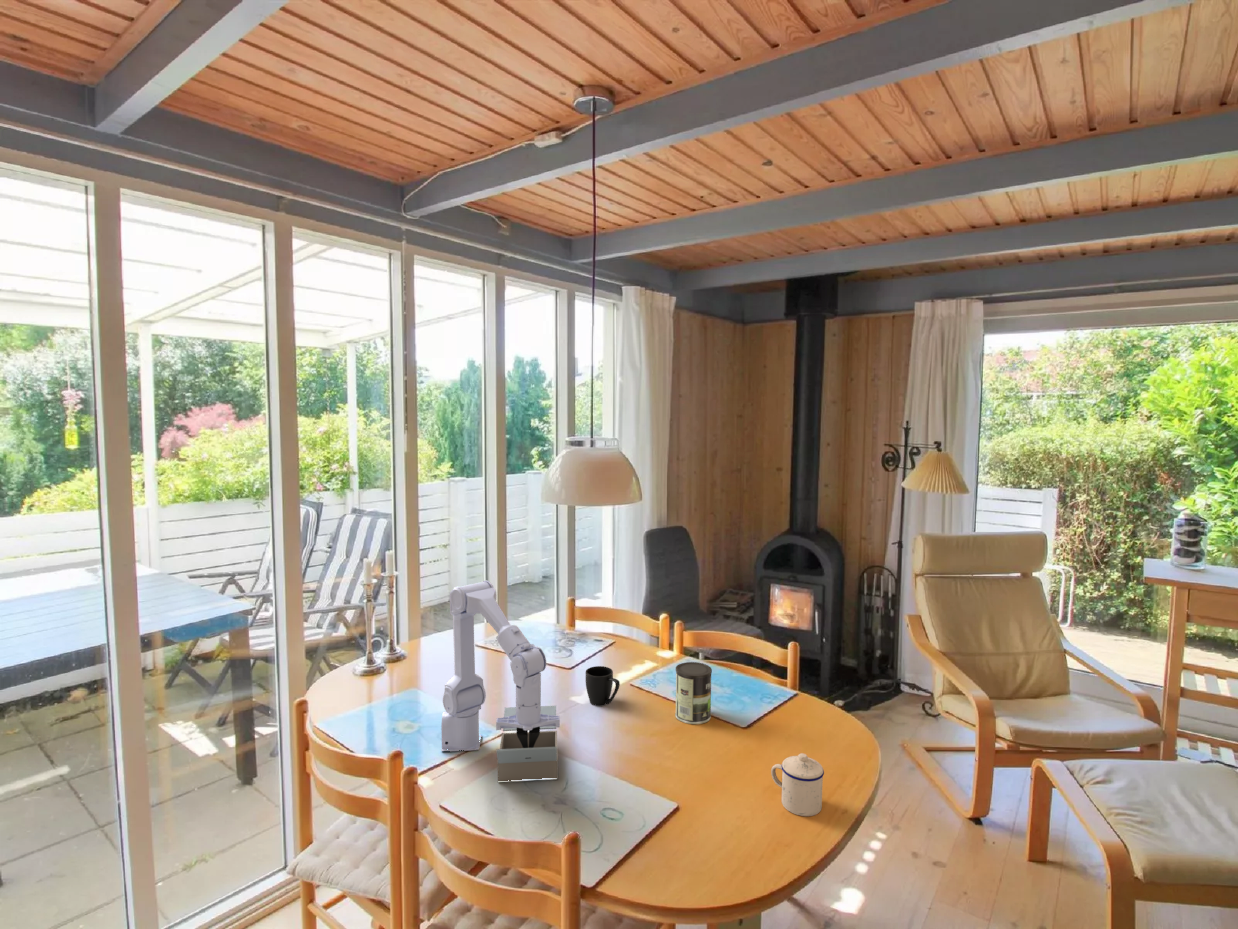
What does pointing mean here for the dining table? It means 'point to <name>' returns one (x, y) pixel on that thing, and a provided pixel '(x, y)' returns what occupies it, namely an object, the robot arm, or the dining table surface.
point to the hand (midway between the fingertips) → (528, 756)
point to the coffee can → (693, 692)
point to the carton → (528, 768)
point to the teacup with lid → (800, 784)
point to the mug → (600, 685)
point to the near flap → (527, 754)
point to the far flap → (544, 710)
